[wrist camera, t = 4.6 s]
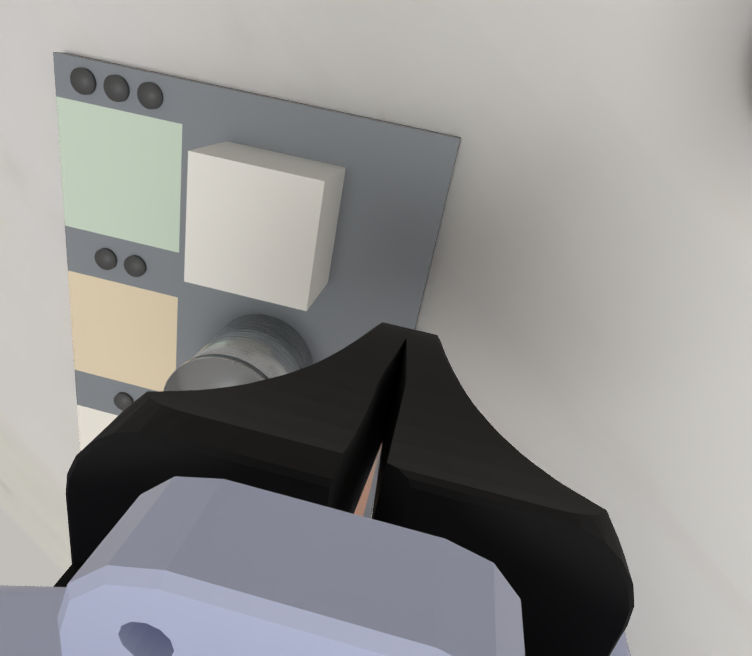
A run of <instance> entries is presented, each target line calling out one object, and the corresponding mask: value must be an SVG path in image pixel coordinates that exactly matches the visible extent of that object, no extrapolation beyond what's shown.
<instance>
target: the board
mask: <svg viewBox="0 0 752 656" xmlns="http://www.w3.org/2000/svg"><path fill="white" fill-rule="evenodd" d="M53 56H54V71H55V86H56V100H57V115H58V130H59V145H60V159H61V174H62V189H63V204H64V218H65V233H66V248H67V263H68V277H69V292H70V307H71V322H72V337H73V351H74V366H75V381H76V396H77V410H78V425H79V440H80V452H81V451H82V450H83V449H84V448H85V447H86V446H87V445H88V444H89V443H90V442H91V441H92V440H93V439H94V438H95V437H96V436H97V435H99V434H100V433H101V432H102V431H103V430H104V429H105V428H106V427H107V426H108V425H109V424H110V423H111V422H112V421H113V420H114V419H115V418H116V417H117V416H118V415H120V414H121V413H122V412H123V411H124V410H125V409H126V408H127V407H128V406H130V405H131V404H132V403H133V402H134V401H136V400H137V399H138V398H139V397H141V396H142V395H143V394H144V393H146V392H147V391H163V390H164V387H165V384H166V382H167V380H168V379H169V377H170V376H171V375H172V373H173V372H174V371H175V370H176V369H177V368H178V367H179V366H181V365H182V364H183V363H184V362H186V361H188V360H189V359H191V358H193V357H194V356H195V355H196V354H197V353H198V352H199V351H200V350H201V349H202V348H203V347H204V346H205V345H206V344H207V343H208V342H209V341H210V340H211V339H212V338H214V337H215V336H216V335H217V334H218V333H219V332H220V331H221V330H222V329H223V328H224V327H225V326H226V325H227V324H228V323H229V322H231V321H232V320H234V319H236V318H238V317H240V316H243V315H248V314H264V315H269V316H272V317H275V318H278V319H280V320H282V321H284V322H285V323H287V324H289V325H290V326H291V327H293V328H294V329H295V330H296V331H297V332H298V333H299V334H300V335H301V336H302V338H303V339H304V340H305V342H306V344H307V345H308V347H309V350H310V352H311V355H312V360H313V364H315V363H317V362H319V361H321V360H323V359H325V358H327V357H329V356H331V355H333V354H335V353H336V352H338V351H340V350H342V349H343V348H345V347H346V346H348V345H349V344H351V343H353V342H354V341H356V340H357V339H359V338H360V337H362V336H363V335H364V334H366V333H367V332H369V331H370V330H371V329H373V328H374V327H375V326H377V325H379V324H380V323H382V322H384V323H388V324H393V325H397V326H401V327H405V328H409V329H413V330H415V326H416V322H417V318H418V314H419V310H420V305H421V301H422V297H423V293H424V289H425V285H426V280H427V276H428V272H429V268H430V264H431V260H432V255H433V251H434V247H435V243H436V239H437V235H438V230H439V226H440V222H441V218H442V214H443V209H444V205H445V201H446V197H447V193H448V189H449V184H450V180H451V176H452V172H453V168H454V164H455V159H456V155H457V151H458V147H459V143H460V139H461V137H456V136H452V135H447V134H442V133H438V132H433V131H428V130H423V129H419V128H414V127H409V126H405V125H400V124H395V123H391V122H386V121H381V120H377V119H372V118H367V117H363V116H358V115H353V114H349V113H344V112H339V111H334V110H330V109H325V108H320V107H316V106H311V105H306V104H302V103H297V102H292V101H288V100H283V99H278V98H274V97H269V96H264V95H260V94H255V93H250V92H246V91H241V90H236V89H231V88H227V87H222V86H217V85H213V84H208V83H203V82H199V81H194V80H189V79H185V78H180V77H175V76H171V75H166V74H161V73H157V72H152V71H147V70H142V69H138V68H133V67H128V66H124V65H119V64H114V63H110V62H105V61H100V60H96V59H91V58H86V57H82V56H77V55H72V54H68V53H59V52H53ZM226 141H228V142H233V143H238V144H242V145H247V146H251V147H256V148H260V149H265V150H269V151H274V152H278V153H283V154H287V155H292V156H296V157H301V158H305V159H310V160H314V161H319V162H323V163H328V164H332V165H337V166H341V167H346V170H345V177H344V183H343V189H342V196H341V202H340V209H339V215H338V222H337V228H336V234H335V241H334V247H333V254H332V260H331V267H330V273H329V280H328V283H327V285H326V286H325V287H324V289H323V290H322V291H321V293H320V294H319V295H318V297H317V298H316V299H315V301H314V302H313V303H312V305H311V306H310V307H309V309H308V310H307V311H303V310H299V309H295V308H291V307H287V306H283V305H279V304H275V303H271V302H266V301H262V300H258V299H254V298H250V297H246V296H242V295H238V294H234V293H229V292H225V291H221V290H217V289H213V288H209V287H205V286H201V285H197V284H193V283H188V282H184V266H185V234H186V202H187V170H188V151H189V150H193V149H197V148H202V147H206V146H210V145H214V144H218V143H222V142H226ZM381 448H382V447H381ZM380 455H381V451H380ZM380 455H379V459H378V462H377V466H376V470H375V474H374V477H373V481H372V485H371V489H370V492H369V496H368V500H367V504H366V507H365V511H364V515H363V517H367V518H370V514H371V510H372V506H373V501H374V497H375V491H376V484H377V477H378V469H379V462H380Z"/></svg>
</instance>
